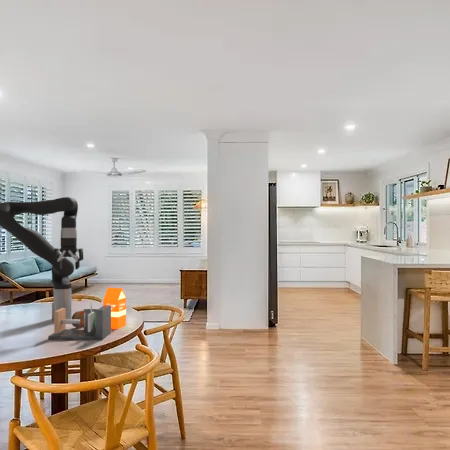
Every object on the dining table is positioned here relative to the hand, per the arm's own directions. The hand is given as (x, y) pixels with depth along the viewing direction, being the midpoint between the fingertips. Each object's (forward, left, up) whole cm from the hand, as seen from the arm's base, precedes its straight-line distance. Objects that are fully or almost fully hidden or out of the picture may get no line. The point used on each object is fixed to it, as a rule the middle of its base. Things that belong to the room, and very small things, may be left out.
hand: (68, 269), depth 198 cm
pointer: (+17, -14, -27) cm, 35 cm away
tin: (+6, +6, -30) cm, 32 cm away
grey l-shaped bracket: (+11, -13, -30) cm, 35 cm away
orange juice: (+22, +5, -30) cm, 38 cm away
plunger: (+6, -14, -28) cm, 32 cm away
